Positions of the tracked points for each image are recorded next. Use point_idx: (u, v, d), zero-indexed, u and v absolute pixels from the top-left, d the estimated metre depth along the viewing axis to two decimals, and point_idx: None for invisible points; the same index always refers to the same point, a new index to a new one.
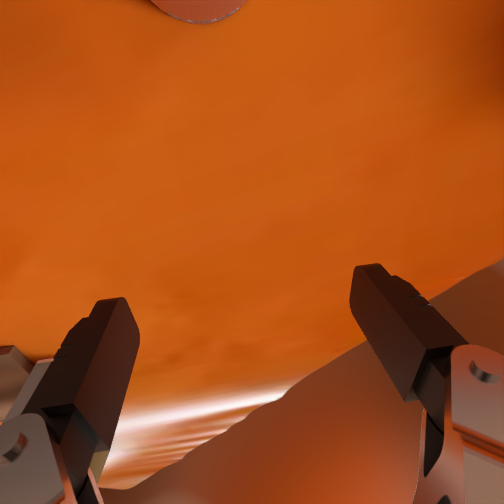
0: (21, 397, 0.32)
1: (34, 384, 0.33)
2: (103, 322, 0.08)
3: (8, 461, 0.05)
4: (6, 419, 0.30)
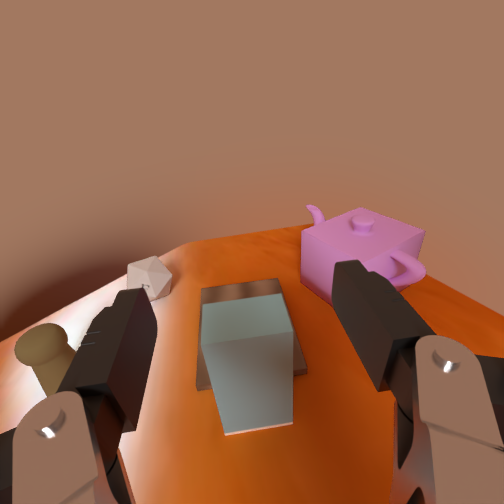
0: None
1: None
2: (127, 310, 0.08)
3: (51, 433, 0.05)
4: None
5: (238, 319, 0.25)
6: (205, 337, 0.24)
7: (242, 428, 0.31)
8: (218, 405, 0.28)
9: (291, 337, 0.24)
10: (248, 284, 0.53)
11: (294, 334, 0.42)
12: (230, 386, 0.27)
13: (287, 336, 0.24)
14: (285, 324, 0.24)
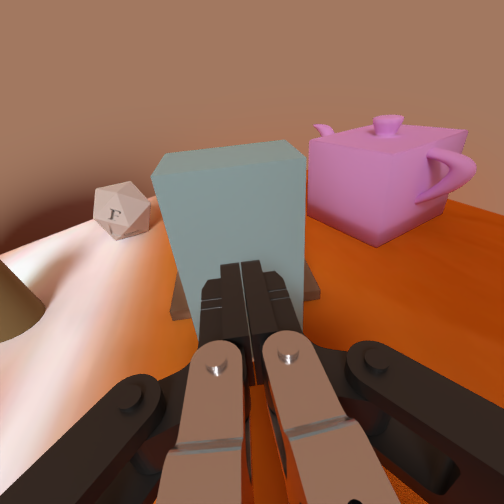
0: None
1: None
2: (236, 280, 0.09)
3: (224, 371, 0.06)
4: None
5: (217, 157, 0.16)
6: (160, 171, 0.14)
7: None
8: (192, 312, 0.19)
9: (303, 172, 0.15)
10: None
11: None
12: (208, 274, 0.17)
13: (296, 169, 0.14)
14: (292, 154, 0.15)
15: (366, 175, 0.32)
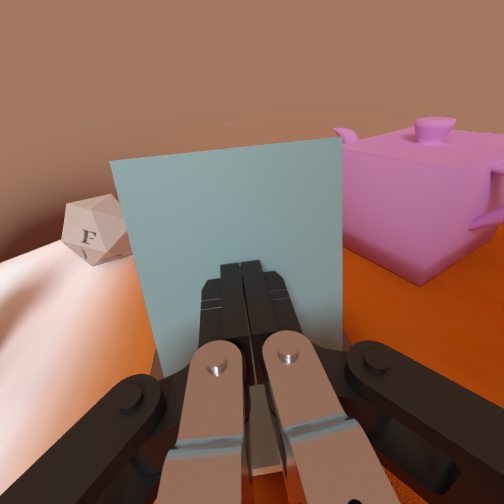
0: None
1: None
2: (236, 280, 0.09)
3: (224, 371, 0.06)
4: None
5: None
6: None
7: None
8: None
9: (338, 160, 0.10)
10: None
11: None
12: (195, 323, 0.11)
13: (328, 155, 0.10)
14: None
15: (410, 195, 0.25)
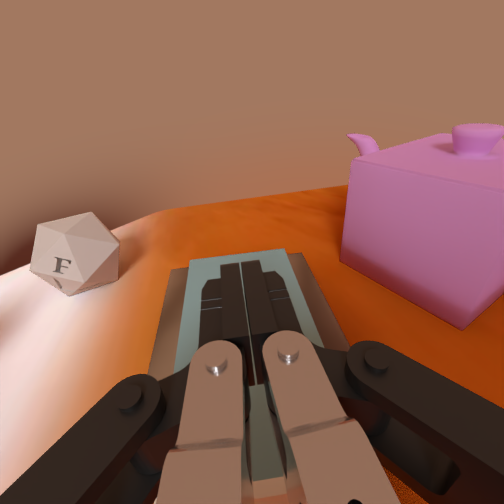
0: None
1: None
2: (236, 280, 0.09)
3: (224, 372, 0.06)
4: None
5: None
6: None
7: None
8: (178, 356, 0.15)
9: (284, 253, 0.23)
10: None
11: None
12: None
13: (279, 252, 0.23)
14: None
15: (456, 222, 0.20)
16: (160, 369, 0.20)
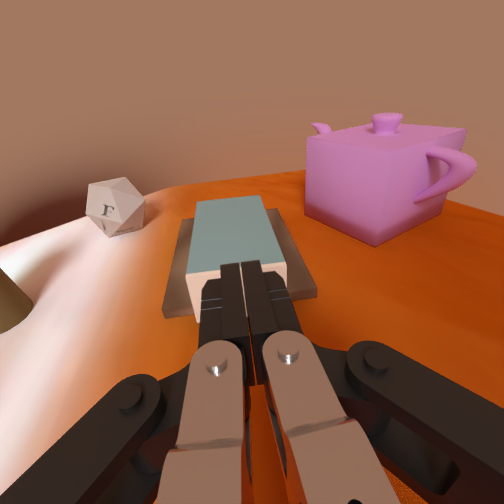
0: None
1: None
2: (236, 280, 0.09)
3: (224, 371, 0.06)
4: None
5: None
6: None
7: (212, 267, 0.22)
8: (192, 237, 0.27)
9: (259, 197, 0.35)
10: None
11: (298, 256, 0.32)
12: (210, 222, 0.29)
13: (256, 196, 0.35)
14: None
15: (364, 173, 0.32)
16: (179, 264, 0.32)
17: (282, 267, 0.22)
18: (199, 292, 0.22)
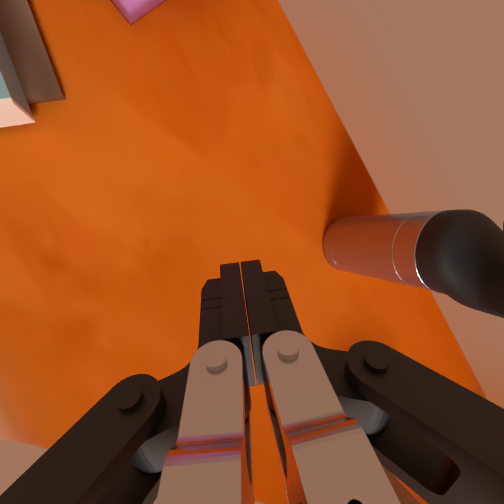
0: (14, 72, 0.29)
1: (16, 83, 0.29)
2: (236, 280, 0.09)
3: (224, 371, 0.06)
4: (6, 50, 0.29)
5: None
6: None
7: None
8: None
9: None
10: None
11: (38, 38, 0.30)
12: None
13: None
14: None
15: None
16: None
17: (9, 104, 0.26)
18: None
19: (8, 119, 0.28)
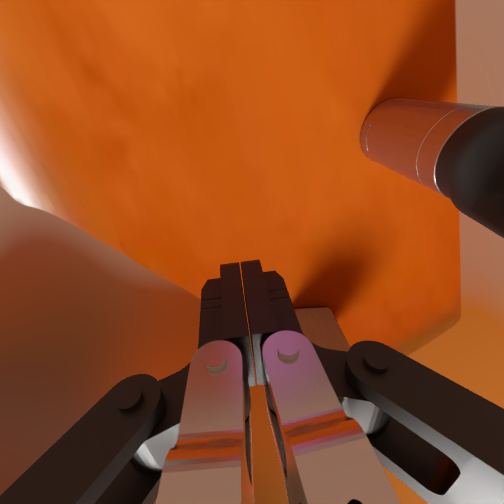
0: None
1: None
2: (236, 280, 0.09)
3: (224, 372, 0.06)
4: None
5: None
6: None
7: None
8: None
9: None
10: None
11: None
12: None
13: None
14: None
15: None
16: None
17: None
18: None
19: None
